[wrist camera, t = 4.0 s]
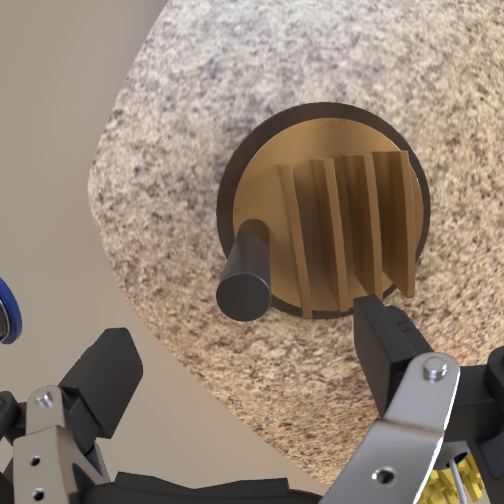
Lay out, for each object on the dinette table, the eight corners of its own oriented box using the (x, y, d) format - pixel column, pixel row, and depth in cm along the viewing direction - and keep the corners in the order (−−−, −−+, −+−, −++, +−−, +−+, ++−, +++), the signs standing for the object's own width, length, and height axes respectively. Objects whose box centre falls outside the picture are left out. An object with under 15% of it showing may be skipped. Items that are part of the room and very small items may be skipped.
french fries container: (382, 385, 32) (430, 509, 15) (456, 367, 31) (521, 466, 14) (377, 410, 33) (415, 527, 16) (448, 392, 32) (501, 488, 15)
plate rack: (407, 113, 22) (503, 93, 10) (419, 288, 26) (491, 364, 14) (216, 136, 23) (168, 117, 11) (253, 318, 28) (244, 423, 16)
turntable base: (206, 294, 29) (203, 300, 28) (238, 86, 23) (236, 82, 22) (391, 321, 29) (395, 329, 28) (439, 138, 24) (447, 138, 22)
